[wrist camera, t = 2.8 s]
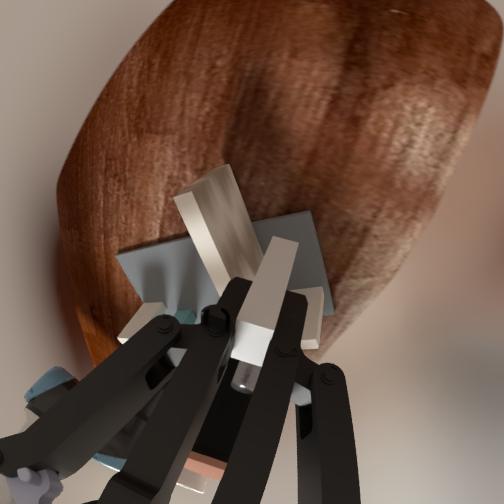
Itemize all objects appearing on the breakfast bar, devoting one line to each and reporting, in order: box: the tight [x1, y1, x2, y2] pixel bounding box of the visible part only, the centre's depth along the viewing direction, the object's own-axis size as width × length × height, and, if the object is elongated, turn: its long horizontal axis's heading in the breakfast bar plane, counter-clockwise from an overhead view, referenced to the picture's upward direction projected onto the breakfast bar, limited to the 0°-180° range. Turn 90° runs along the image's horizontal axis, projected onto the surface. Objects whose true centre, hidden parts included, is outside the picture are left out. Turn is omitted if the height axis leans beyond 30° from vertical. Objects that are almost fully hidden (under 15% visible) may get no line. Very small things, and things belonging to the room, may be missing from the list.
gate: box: [173, 164, 264, 297], centre depth 23 cm, size 13×2×7 cm, turn 20°
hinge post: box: [231, 360, 261, 394], centre depth 25 cm, size 2×2×12 cm
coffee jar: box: [184, 355, 253, 481], centre depth 30 cm, size 11×11×18 cm
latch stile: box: [174, 310, 196, 324], centre depth 30 cm, size 2×2×12 cm
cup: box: [176, 468, 207, 494], centre depth 60 cm, size 11×11×18 cm
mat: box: [116, 210, 335, 324], centre depth 31 cm, size 25×12×1 cm, turn 110°
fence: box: [117, 286, 324, 349], centre depth 29 cm, size 24×1×7 cm, turn 110°
